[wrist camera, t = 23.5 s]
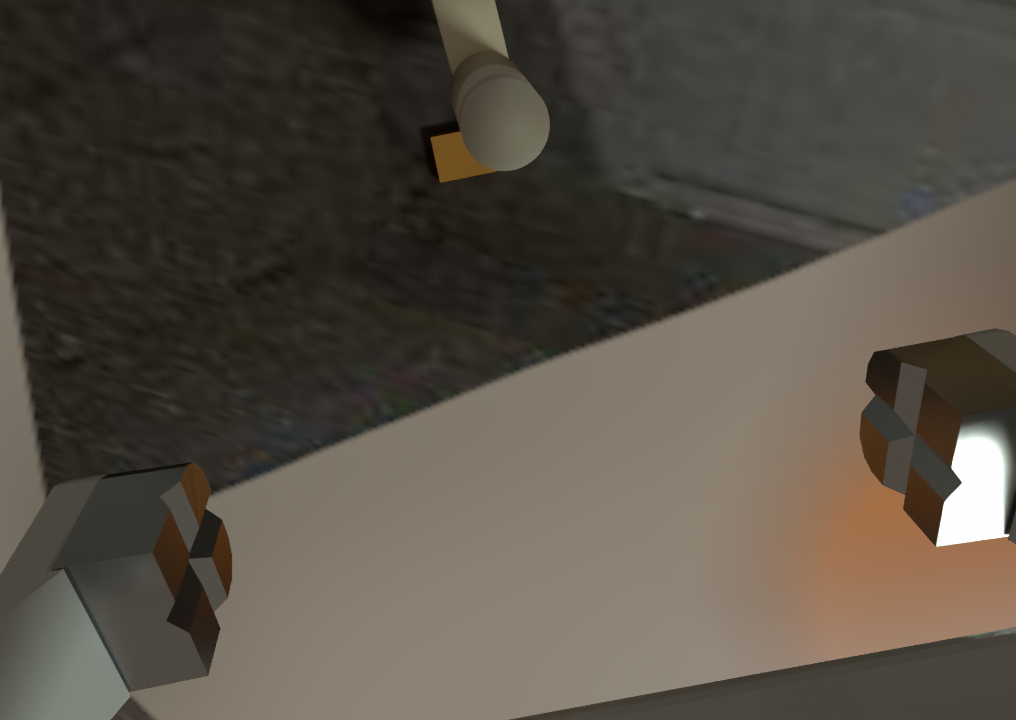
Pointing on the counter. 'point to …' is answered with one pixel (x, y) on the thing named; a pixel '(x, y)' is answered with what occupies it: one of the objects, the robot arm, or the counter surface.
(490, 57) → the crank
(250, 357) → the counter surface
